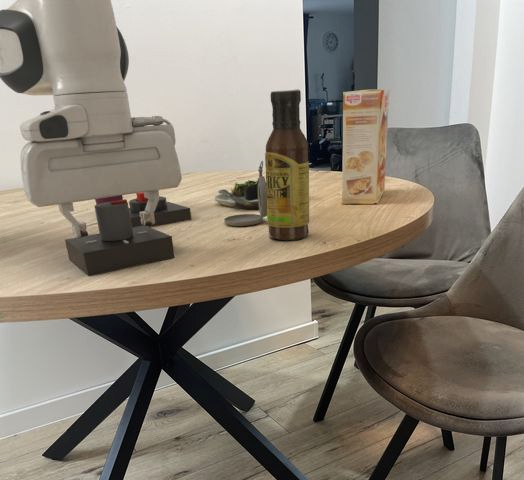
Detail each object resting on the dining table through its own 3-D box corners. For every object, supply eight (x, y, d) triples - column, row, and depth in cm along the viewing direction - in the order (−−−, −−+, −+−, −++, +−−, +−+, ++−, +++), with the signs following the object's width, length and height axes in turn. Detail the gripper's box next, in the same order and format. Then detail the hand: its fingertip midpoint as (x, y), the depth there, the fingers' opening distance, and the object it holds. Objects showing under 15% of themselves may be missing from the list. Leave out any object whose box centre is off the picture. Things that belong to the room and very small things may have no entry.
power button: (141, 204, 91) (140, 194, 90) (135, 201, 94) (133, 192, 93) (160, 201, 93) (159, 191, 92) (153, 199, 96) (152, 189, 95)
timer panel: (88, 276, 65) (83, 251, 64) (69, 260, 73) (64, 238, 72) (174, 257, 71) (171, 234, 69) (148, 244, 78) (145, 224, 77)
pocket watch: (217, 224, 89) (211, 163, 84) (254, 216, 93) (250, 158, 89) (246, 231, 83) (241, 166, 78) (284, 221, 87) (282, 159, 83)
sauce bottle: (260, 237, 78) (251, 92, 70) (292, 230, 81) (287, 90, 73) (286, 244, 74) (279, 89, 65) (319, 236, 77) (317, 87, 68)
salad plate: (191, 205, 108) (188, 182, 106) (252, 192, 119) (251, 171, 117) (253, 214, 95) (251, 188, 93) (316, 198, 106) (315, 175, 104)
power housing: (128, 231, 88) (124, 207, 86) (111, 222, 96) (107, 201, 94) (191, 220, 94) (189, 197, 92) (170, 213, 102) (167, 192, 100)
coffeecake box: (378, 204, 96) (382, 88, 88) (340, 204, 98) (341, 91, 90) (386, 191, 109) (390, 88, 100) (352, 191, 111) (354, 91, 103)
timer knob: (106, 243, 68) (99, 206, 66) (96, 237, 71) (89, 202, 69) (138, 237, 70) (132, 201, 68) (127, 232, 73) (120, 197, 71)
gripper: (163, 115, 71) (176, 215, 77) (5, 126, 62) (34, 239, 68) (181, 114, 66) (194, 221, 72) (14, 126, 57) (44, 248, 63)
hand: (115, 230), depth 70 cm, fingers open, 8 cm apart
